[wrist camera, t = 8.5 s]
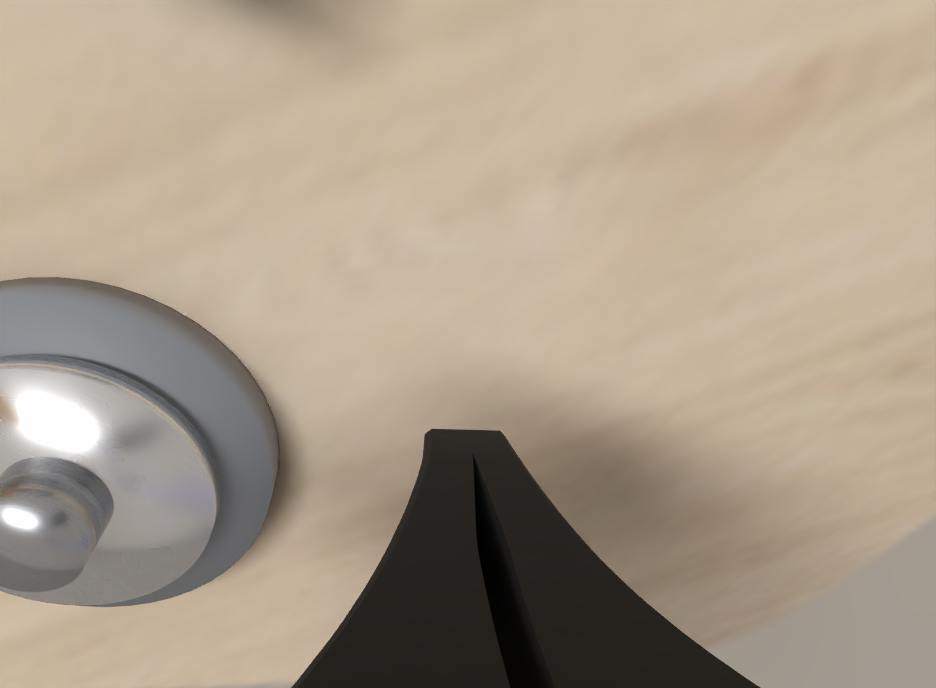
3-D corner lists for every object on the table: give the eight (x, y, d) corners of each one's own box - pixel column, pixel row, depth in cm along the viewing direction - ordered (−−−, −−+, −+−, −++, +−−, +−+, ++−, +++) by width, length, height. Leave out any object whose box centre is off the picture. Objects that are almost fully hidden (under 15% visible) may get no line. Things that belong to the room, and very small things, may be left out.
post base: (352, 450, 23) (341, 546, 19) (131, 619, 26) (81, 733, 22) (41, 192, 18) (-63, 249, 14) (-190, 437, 21) (-330, 542, 17)
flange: (276, 522, 22) (254, 613, 18) (54, 620, 23) (-3, 721, 20) (34, 241, 16) (-54, 299, 13) (-235, 385, 18) (-374, 471, 15)
